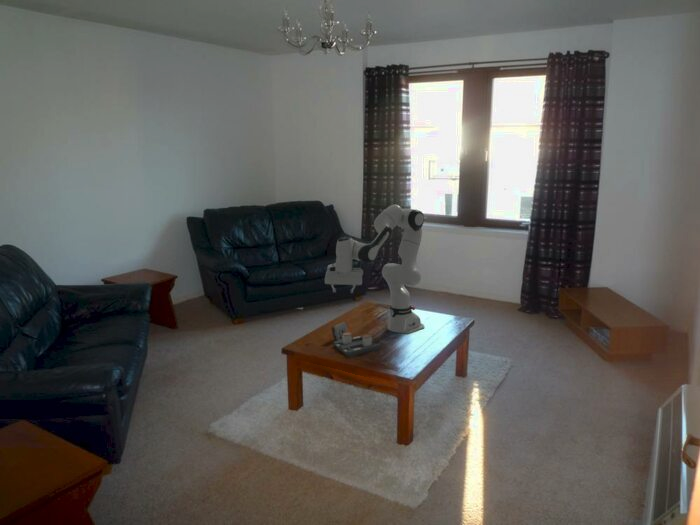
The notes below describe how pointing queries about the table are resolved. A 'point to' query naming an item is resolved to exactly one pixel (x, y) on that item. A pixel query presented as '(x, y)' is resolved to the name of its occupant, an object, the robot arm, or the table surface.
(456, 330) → the table surface
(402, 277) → the robot arm
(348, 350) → the switch bank
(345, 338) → the tab
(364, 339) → the tab
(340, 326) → the electrical switch
